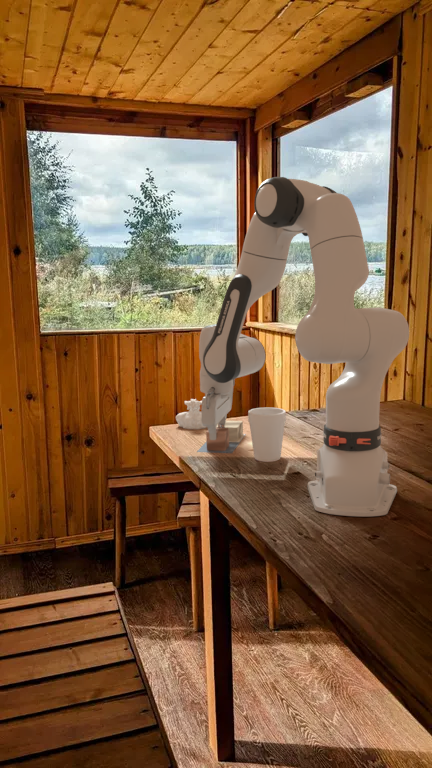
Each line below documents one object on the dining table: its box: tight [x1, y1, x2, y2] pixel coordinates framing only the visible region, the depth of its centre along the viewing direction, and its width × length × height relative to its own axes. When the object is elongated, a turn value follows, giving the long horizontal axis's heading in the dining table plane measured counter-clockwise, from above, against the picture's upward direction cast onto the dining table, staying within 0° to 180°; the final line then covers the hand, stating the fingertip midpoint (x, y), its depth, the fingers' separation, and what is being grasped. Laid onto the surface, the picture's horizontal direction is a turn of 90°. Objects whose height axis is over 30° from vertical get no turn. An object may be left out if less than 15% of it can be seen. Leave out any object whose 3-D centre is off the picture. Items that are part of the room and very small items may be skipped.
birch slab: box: [216, 420, 244, 442], centre depth 172 cm, size 8×8×4 cm
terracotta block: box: [205, 428, 229, 451], centre depth 162 cm, size 5×5×5 cm
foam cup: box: [247, 407, 287, 463], centre depth 151 cm, size 10×9×13 cm
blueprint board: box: [196, 433, 247, 454], centre depth 167 cm, size 20×10×1 cm, turn 167°
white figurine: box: [175, 398, 208, 430], centre depth 185 cm, size 12×8×11 cm
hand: (217, 434), depth 162 cm, fingers open, 8 cm apart
